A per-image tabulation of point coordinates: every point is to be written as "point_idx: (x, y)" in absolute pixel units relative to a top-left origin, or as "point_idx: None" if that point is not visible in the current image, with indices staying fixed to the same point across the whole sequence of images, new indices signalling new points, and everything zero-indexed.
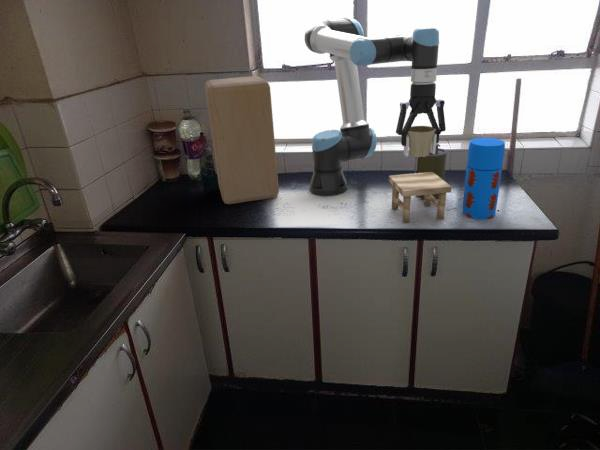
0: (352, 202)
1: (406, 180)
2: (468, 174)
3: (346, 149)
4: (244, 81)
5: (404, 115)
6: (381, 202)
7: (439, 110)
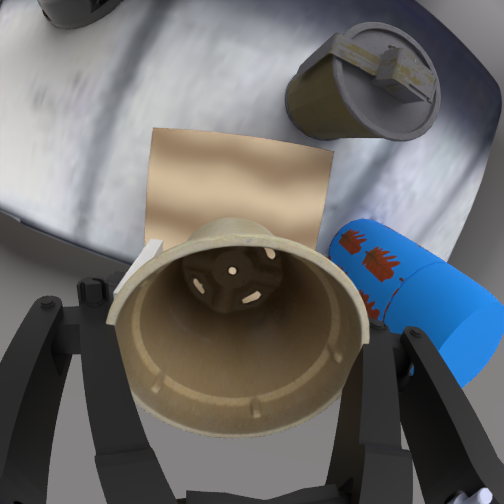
0: (101, 78)
1: (192, 204)
2: (373, 302)
3: None
4: None
5: (36, 474)
6: (172, 96)
7: (427, 489)
